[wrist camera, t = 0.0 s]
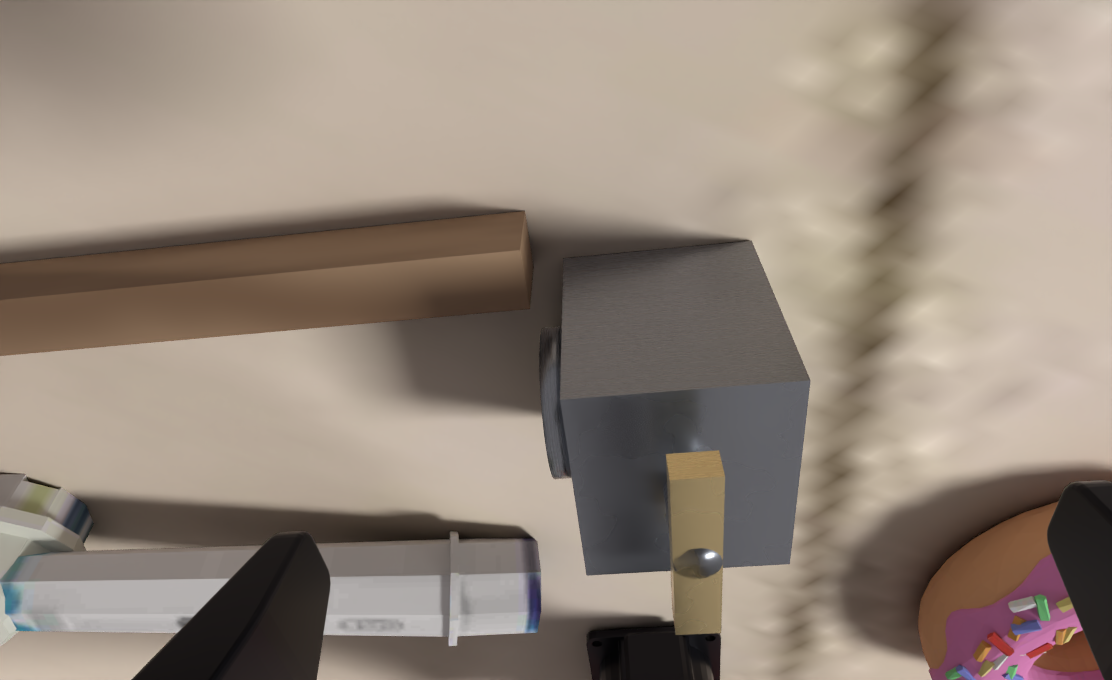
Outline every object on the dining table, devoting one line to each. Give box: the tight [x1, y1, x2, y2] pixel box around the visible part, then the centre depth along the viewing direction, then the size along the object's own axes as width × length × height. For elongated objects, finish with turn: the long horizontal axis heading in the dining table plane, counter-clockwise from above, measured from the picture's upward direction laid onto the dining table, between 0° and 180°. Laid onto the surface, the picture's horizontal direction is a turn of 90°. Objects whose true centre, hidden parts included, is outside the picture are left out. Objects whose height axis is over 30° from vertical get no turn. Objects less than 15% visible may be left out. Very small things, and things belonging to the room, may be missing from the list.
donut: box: [918, 501, 1104, 680], centre depth 31 cm, size 14×14×5 cm
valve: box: [539, 241, 810, 635], centre depth 21 cm, size 7×7×9 cm
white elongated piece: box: [0, 474, 541, 646], centre depth 30 cm, size 5×7×25 cm
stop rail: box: [0, 211, 534, 356], centre depth 23 cm, size 2×28×2 cm, turn 97°
